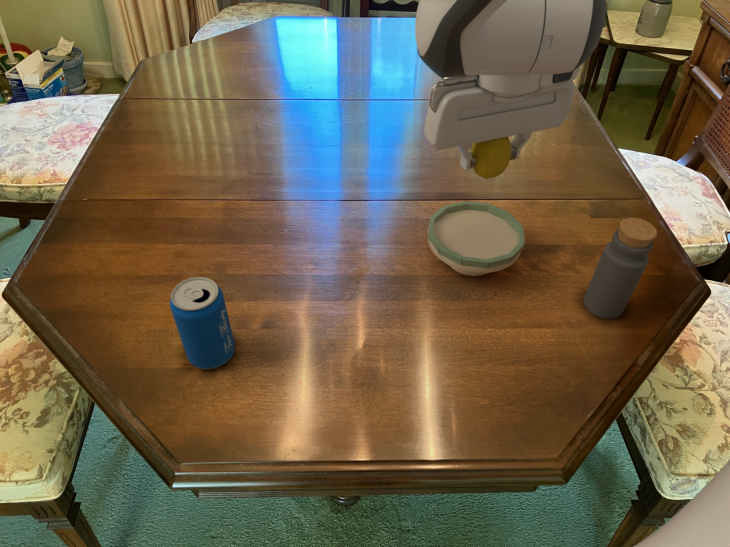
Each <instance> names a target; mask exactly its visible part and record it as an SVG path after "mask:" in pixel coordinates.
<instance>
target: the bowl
mask: <svg viewBox="0 0 730 547" xmlns="http://www.w3.org/2000/svg"><path fill="white" fill-rule="evenodd" d="M426 236H427V237H426V241H427V244H428V247H429V249H430V251H431V252H432V253H433V254H434V255H435V257H437V258H438V259H439V260H440V261H442V262H443V263H444V264H446V265H448V266H449V267H450V268H451V269H453V271H456V272H457V273H459V274H462V275H464V276H465V275H466V276H469V277H470V276H471V277H478V276H483V275H486V274H488V273H489V274H490V273H496V272H499V271H502V270H505V269H508V268H510V267H511V266H512V265H514V264H515V263H516V262H517V260H519V258H520V256H521V255H522V251H523V250H524V248H525V244H526V239H525V228H524V226H523V225H522V224H521V223H520V221H518V219H517V218H516V217H515V216H514V215H513V214H512V213H511V212H509V211H508V210H505V209H503V208H500V207H499V206H496V205H494V204H492V203H488V202H481V201H479V202H478V201H471V200H470V201H469V200H462V201H458V202H453V203H449V204H445V205H443V206H441V208H439V209H438V210H437V211H436V212H434V213H433V214H432V215H431V216H430V217H429V222H428V228H427V234H426Z"/></svg>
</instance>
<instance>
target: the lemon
mask: <svg viewBox="0 0 730 547" xmlns="http://www.w3.org/2000/svg"><path fill="white" fill-rule="evenodd" d="M469 152H471V153H472V154H473V155H474V156H475V157H476V158H477V161H476V163H475V165H476V166H475V168H472V169H471V170H472V171H473V172H474V173H475V174H476V175H477V176H478V177H481V178H483V180H488V179H494V178H497V177H499V176H500V175H502V174H503V173H504V172H505V171H506V169H507V168H508V166H509V163H510V161H511V160H510V157H511V140H510V138H509V137H504V138H499V139H494V140H489V141H483V142H478V143H473V146H472V149H470V151H469Z"/></svg>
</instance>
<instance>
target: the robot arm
mask: <svg viewBox="0 0 730 547" xmlns="http://www.w3.org/2000/svg"><path fill="white" fill-rule="evenodd" d="M607 9H608V2H607V0H419V2H418V5H417V9H416V13H415V21H414V22H415V23H414V35H415V44H416V49H417V50H416V51H417V54H418V56H419V58H420V60H422V63H424V64H425V65H426V67H428V68H429V70H431V71H432V72H433V73H434V74H435V75H437V76H438V77H439V78H440V80H439V81H437V82H436V83H435V84H433V85H432V87H431V88H430V92H429V101H428V102H429V103H428V104H429V105H428V110H427V113H426V117H425V122H424V130H423V134H424V137H425V138H426V139H427V141H428V142H429V143H430V144H431V146H433V147H434V148H435V149H436V150H438V151H443V150H448V149H452V148H453V149H454V148H457V149H458V151H459V153H460V160H459V161H460V162H459V163H460V166H461V168H462V169H463V170H464V171H467V170H473V169H472V168H475V166H476V165H475V163H476V161H477V158H476V157H475V156H474V155H473V154H472V153H471V152H470V151H471V149H472V146H473V143H478V142H483V141H489V140H494V139H499V138H504V137H508V138H509V137H512V139H511V140H510V143H511V157H510V161H514V160H518V159H519V157H520V153H521V150H522V149H523V148H524V146H525V145H526V144H527V143H528V142H529V141H530V139H531V137H532V133H534V132H540V131H544V130H548V129H549V130H550V129H555V128H559V127H561V126H562V125H563V124H564V123H565V122H566V120H567V119H568V117H569V115H570V112H571V108H572V105H573V101H574V96H575V90H576V86H575V82H574V81H575V80H576V79H577V78H578V75H579V73H580V70H581V66H582V65H583V64H585V63H586V61H587V60H588V59H589V58H590V57H591V56H592V55H593V53H594V51H595V50H596V48H597V47H598V45H599V43H600V40H601V36H602V33H603V30H604V26H605V22H606V16H607ZM469 150H470V151H469ZM633 547H730V459H729V460H728V461H727V462H726V463H725V464H724V465H723V466H722V467H721V468H720V469H719V470H718V471H717V473H715V475H714V476H713V477H712V478H711V479H710V480H709V481H708V482H707V483H706V484H705V486H703V487H702V488H701V490H699V491H698V493H697V494H696V495H694V497H692V499H690V501H689V502H687V503H686V504H685V505H684V506H683V507H682V508H680V509H679V511H678V512H677V513H675V515H673V516H672V517H671V518H670V519H668V520H667V521H666V522H665V523H664V524H662V525H661V526H660V527H659V528H657V529H656V530H655V531H654V532H652V533H651V534H649V535H647V537H645V538H644V539H643V540H641V541H639V542H638V543H636V544H635V545H633Z"/></svg>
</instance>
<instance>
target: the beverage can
mask: <svg viewBox="0 0 730 547" xmlns="http://www.w3.org/2000/svg"><path fill="white" fill-rule="evenodd" d="M169 308H170V311H171V314H172V317H173V320H174V323H175V327H176V329H177V332H178V334H179V337H180V341H181V344H182V347H183V349H184V352H185V355H186V358H187V361H188V362H189V363H190V364H191V365H192V366H194V367H196V368H197V369H201V370H211V369H215V368H218V367H221V366H223V365H224V364H226V363H227V362H228V361H230V359H231V358H232V357H233V356H234V354H235V349H236V342H235V340H234V334H233V330H232V326H231V322H230V318H229V313H228V308H227V305H226V301H225V296H224V293H223V291H222V289H221V287H219V285H217V283H216V282H215V280H212V279H211V278H209V277H205V276H193V277H189V278H186V279H184V280H182V281H180V282H178V283H177V284H176V285H175V286H174V288H173V289H172V291H171V294H170V300H169Z"/></svg>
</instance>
